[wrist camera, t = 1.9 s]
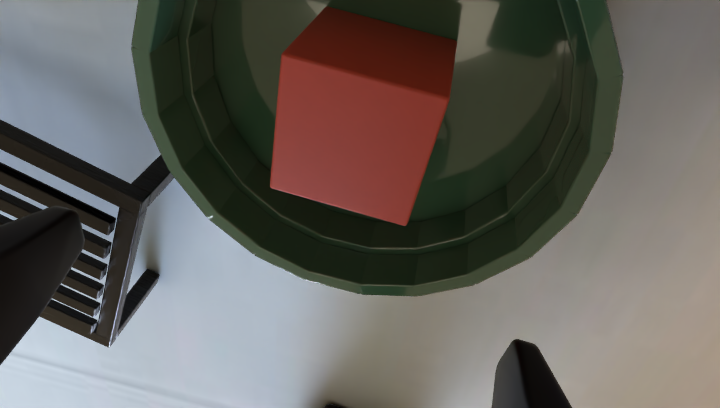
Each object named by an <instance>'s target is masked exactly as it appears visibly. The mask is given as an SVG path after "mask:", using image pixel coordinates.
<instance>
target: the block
mask: <svg viewBox="0 0 720 408" xmlns="http://www.w3.org/2000/svg"><path fill="white" fill-rule="evenodd" d="M456 48H457V41H455V40H452V39H448V38H445V37H441V36H437V35H433V34H429V33H426V32H422V31H418V30H414V29H411V28H407V27H403V26H399V25H396V24H392V23H388V22H384V21H380V20H377V19H373V18H369V17H365V16H362V15H358V14H354V13H350V12H347V11H343V10H339V9H335V8H332V7H325V8H324V9H323V10H322V11H321V12H320V13H319V14H318V15H317V17H316V18H315V19H314V20H313V21H312V22H311V23H310V24H309V25H308V26H307V27H306V28H305V29H304V30H303V31H302V33H301V34H300V35H299V36H298V37H297V38H296V39H295V40H294V41H293V42H292V43H291V44H290V45H289V46H288V47H287V48H286V50H285V51H284V52H283V53H282V55H281V64H280V76H279V87H278V98H277V110H276V121H275V133H274V144H273V155H272V167H271V178H270V187H271V188H272V189H276V190H279V191H283V192H286V193H290V194H293V195H297V196H300V197H304V198H308V199H311V200H315V201H318V202H322V203H325V204H329V205H332V206H336V207H339V208H343V209H346V210H350V211H353V212H357V213H360V214H364V215H367V216H371V217H374V218H378V219H382V220H385V221H389V222H392V223H396V224H399V225H403V226H406V225H407V224H408V221H409V218H410V215H411V212H412V209H413V206H414V203H415V200H416V197H417V194H418V191H419V188H420V185H421V182H422V180H423V177H424V174H425V171H426V168H427V165H428V162H429V159H430V156H431V153H432V150H433V147H434V144H435V141H436V138H437V135H438V132H439V129H440V126H441V124H442V121H443V118H444V115H445V112H446V109H447V106H448V103H449V99H450V92H451V85H452V77H453V70H454V63H455V55H456Z"/></svg>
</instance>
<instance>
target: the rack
mask: <svg viewBox="0 0 720 408" xmlns="http://www.w3.org/2000/svg"><path fill="white" fill-rule="evenodd" d="M0 149H1V150H3V151H5V152H7V153H9V154H11V155H14V156H16V157H18V158H20V159H22V160H24V161H26V162H28V163H30V164H32V165H34V166H36V167H38V168H40V169H42V170H44V171H46V172H48V173H51V174H53V175H55V176H57V177H59V178H61V179H63V180H65V181H67V182H69V183H71V184H73V185H75V186H77V187H79V188H81V189H83V190H85V191H88V192H90V193H92V194H94V195H96V196H98V197H100V198H102V199H104V200H106V201H108V202H110V203H112V204H114V205H116V206H118V207H119V212H118V217H117V222H116V228H115V233H114V239H113V244H112V250H111V255H110V261H109V266H108V272H107V277H106V282H105V288H104V293H103V287H104V285H103V284H101V283H99V282H97V281H95V280H93V279H90V278H88V277H86V276H84V275H82V274H80V273H77V272H75V271H73V270H71V269H70V270H69V272H68V273H67V275H66V276H65V278H64V280H63V281H62V284H64V285H67V286H69V287H71V288H73V289H75V290H77V291H80V292H82V293H84V294H86V295H88V296H91V297H93V298H95V299H98V298H99V297H100V296H101V295H102V293H103V299H102V304H101V310H100V303H99V302H97V301H95V300H92V299H90V298H88V297H86V296H84V295H82V294H79V293H77V292H75V291H73V290H71V289H68V288H66V287H64V286H62V285H60V286H59V287H58V289H57V290H56V292H55V294H54V295H53V297H52V298H53V299H55V300H57V301H59V302H62V303H64V304H66V305H68V306H70V307H73V308H75V309H77V310H79V311H81V312H84V313H86V314H88V315H90V316H92V317H95V316H96V315H97V313H98V312H99V310H100V315H99V321H98V322H97V320H96V319H94V318H92V317H89V316H87V315H85V314H83V313H81V312H78V311H76V310H74V309H72V308H70V307H67V306H65V305H63V304H61V303H59V302H56V301H54V300H52V299H51V300H50V301H49V303H48V304H47V306H46V307H45V309H44V310H43V312H42V313H41V314H40V317H42V318H44V319H46V320H49V321H51V322H53V323H55V324H58V325H60V326H62V327H64V328H66V329H69V330H71V331H73V332H75V333H78V334H80V335H82V336H84V337H87V338H89V339H91V340H93V341H95V342H98V343H100V344H102V345H104V346H107V347H110V346H111V345H112V344H113V342H114V341H115V339H116V337H117V336H118V335H119V334H120V332H121V331H122V330H123V328H124V327H125V326H126V324H127V323H128V322H129V320H130V319H131V318H132V316H133V315H134V313H135V312H136V311H137V309H138V308H139V307H140V305H141V304H142V303H143V301H144V300H145V299H146V297H147V296H148V294H149V293H150V292H151V290H152V289H153V288H154V286H155V285H156V284H157V282H158V279H159V274H157V273H155V272H153V271H151V270H149V269H147V270H146V271H145V272H144V273H143V274H142V276H141V277H140V278H139V279H138V281H137V282H136V283H135V285H134V286H133V287H132V288H131V290H130V291H129V292H128V294H127V290H128V286H129V282H130V277H131V273H132V269H133V265H134V261H135V256H136V252H137V248H138V244H139V240H140V235H141V231H142V227H143V223H144V219H145V214H146V210H147V207H148V206H149V205H150V204H151V203H152V202H153V201H154V199H155V198H156V197H157V196H158V195H159V194H160V193H161V192H162V191H163V190H164V188H165V187H166V186H167V185H168V184H169V183H170V182H171V181H172V180H173V179H174V177H173V175H172V174H171V173H170V171H169V170H168V168H167V166H166V164H165V161H164V159H163V157H162V155H160V156H159V157H158V158H157V159H156V160H155V161H154V162H153V163H152V164H151V165H150V166H149V167H148V168H147V169H146V170H145V171H144V172H143V173H142V174H141V175H140V176H139V177H138V178H137V179H136V180H134V181H133V182H132V183H131V184H130V183H128V182H126V181H124V180H122V179H120V178H118V177H116V176H114V175H112V174H110V173H107V172H105V171H103V170H101V169H99V168H97V167H95V166H93V165H91V164H89V163H87V162H85V161H83V160H81V159H79V158H77V157H75V156H73V155H71V154H69V153H67V152H65V151H63V150H61V149H59V148H57V147H55V146H53V145H51V144H49V143H47V142H45V141H43V140H41V139H39V138H37V137H35V136H33V135H31V134H29V133H27V132H25V131H23V130H21V129H18V128H16V127H14V126H12V125H10V124H8V123H6V122H4V121H2V120H0ZM0 184H1V185H3V186H5V187H7V188H10V189H12V190H14V191H16V192H18V193H20V194H22V195H24V196H26V197H28V198H31V199H33V200H35V201H37V202H39V203H41V204H43V205H45V206H47V207H52V206H61V207H65V208H68V209H72V210H74V211H76V212H77V213H78V215H79V218H80V222H81V223H83V224H85V225H87V226H89V227H91V228H93V229H95V230H97V231H100V232H102V233H104V234H106V235H109V234H110V233H111V232H112V231H113V230H114V227H115V221H116V218H115V217H113V216H111V215H108V214H106V213H104V212H102V211H100V210H98V209H96V208H94V207H92V206H90V205H88V204H86V203H84V202H82V201H80V200H77V199H75V198H73V197H71V196H69V195H67V194H65V193H63V192H61V191H59V190H57V189H55V188H53V187H51V186H48V185H46V184H44V183H42V182H40V181H38V180H36V179H34V178H32V177H30V176H28V175H26V174H24V173H22V172H20V171H17V170H15V169H13V168H11V167H9V166H7V165H5V164H3V163H1V162H0ZM0 210H1V211H3V212H5V213H8V214H10V215H12V216H14V217H16V218H18V219H19V218H22V217H25V216H27V215H30V214H33V213H35V212H38V211H41V210H42V209H40V208H38V207H36V206H34V205H32V204H30V203H28V202H25V201H23V200H21V199H19V198H17V197H15V196H13V195H11V194H9V193H7V192H4V191H2V190H0ZM11 221H14V220H12V219H9V218H7V217H5V216H3V215H1V214H0V225H3V224H6V223H8V222H11ZM82 230H83V234H84V239H85V242H84V247H83V249H84V250H86V251H88V252H90V253H93V254H95V255H97V256H99V257H101V258H103V259H104V258H106V256H107V255H108V254H109V253H110V249H111V242H109V241H107V240H105V239H103V238H101V237H99V236H97V235H95V234H93V233H91V232H88V231H86V230H84V229H82ZM72 267H73V268H75V269H77V270H80V271H82V272H84V273H86V274H88V275H90V276H93V277H95V278H97V279H99V280H101V279H102V278H103V277H104V276H105V275H106V271H107V264H105V263H103V262H101V261H99V260H97V259H95V258H92V257H90V256H88V255H86V254H84V253H82V252H81V253H80V255H79V256H78V258H77V259H76V261H75V262H74V264H73V266H72ZM126 294H127V295H126Z"/></svg>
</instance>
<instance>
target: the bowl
mask: <svg viewBox="0 0 720 408" xmlns="http://www.w3.org/2000/svg"><path fill="white" fill-rule="evenodd" d="M325 7H332V8H335V9H339V10H343V11H347V12H350V13H354V14H358V15H362V16H365V17H369V18H373V19H377V20H380V21H384V22H388V23H392V24H396V25H399V26H403V27H407V28H411V29H414V30H418V31H422V32H426V33H429V34H433V35H437V36H441V37H445V38H448V39H452V40H455V41H457V48H456V55H455V63H454V70H453V77H452V85H451V92H450V99H449V103H448V106H447V109H446V112H445V115H444V118H443V121H442V124H441V126H440V129H439V132H438V135H437V138H436V141H435V144H434V147H433V150H432V153H431V156H430V159H429V162H428V165H427V168H426V171H425V174H424V177H423V180H422V182H421V185H420V188H419V191H418V194H417V197H416V200H415V203H414V206H413V209H412V212H411V215H410V218H409V221H408V224H407V225H406V226H403V225H399V224H396V223H392V222H389V221H385V220H382V219H378V218H374V217H371V216H367V215H364V214H360V213H357V212H353V211H350V210H346V209H343V208H339V207H336V206H332V205H329V204H325V203H322V202H318V201H315V200H311V199H308V198H304V197H300V196H297V195H293V194H290V193H286V192H283V191H279V190H276V189H272V188H271V187H270V178H271V167H272V155H273V144H274V133H275V121H276V110H277V98H278V87H279V76H280V64H281V55H282V53H283V52H284V51H285V50H286V48H287V47H288V46H289V45H290V44H291V43H292V42H293V41H294V40H295V39H296V38H297V37H298V36H299V35H300V34H301V33H302V31H303V30H304V29H305V28H306V27H307V26H308V25H309V24H310V23H311V22H312V21H313V20H314V19H315V18H316V17H317V15H318V14H319V13H320V12H321V11H322V10H323V9H324V8H325ZM131 45H132V47H131V50H132V56H133V62H134V68H135V74H136V80H137V86H138V92H139V98H140V104H141V110H142V113H143V117H144V119H145V121H146V123H147V125H148V127H149V130H150V132H151V134H152V136H153V138H154V140H155V142H156V144H157V147H158V149H159V151H160V153H161V155H162V157H163V159H164V161H165V164H166V166H167V168H168V170H169V171H170V173H171V174H172V175H173V177H174V178H175V179H176V180H177V181H178V183H179V184H180V185H181V186H182V188H183V189H184V190H185V191H186V193H187V194H188V195H189V196H190V197H191V199H192V200H193V201H194V202H195V204H196V205H197V206H198V207H199V209H200V210H201V211H202V212H203V213H204V215H205V216H206V217H207V218H209V220H210V221H212V222H213V223H214V224H215V225H217V226H218V227H219V228H220V229H222V230H223V231H224V232H226V233H227V234H228V235H229V236H231V237H232V238H233V239H234V240H236V241H237V242H238V243H240V244H241V245H242V246H243V247H245V248H246V249H247V250H248V251H250V252H251V253H252V254H255V256H257V257H259V258H261V259H263V260H265V261H267V262H269V263H271V264H273V265H275V266H277V267H279V268H281V269H283V270H285V271H287V272H289V273H291V274H293V275H295V276H297V277H299V278H301V279H303V280H307V281H310V282H314V283H318V284H322V285H326V286H330V287H334V288H338V289H342V290H346V291H350V292H354V293H357V294H362V295H389V296H423V295H428V294H433V293H438V292H443V291H448V290H453V289H458V288H463V287H468V286H473V285H475V284H478V283H480V282H482V281H484V280H486V279H488V278H490V277H493V276H495V275H497V274H499V273H501V272H503V271H505V270H507V269H509V268H511V267H513V266H515V265H517V264H519V263H521V262H523V261H525V260H528V259H529V258H531V257H532V256H533V255H534V254H535V253H537V252H538V251H539V250H540V249H541V248H542V247H543V246H544V245H545V244H546V243H547V242H549V241H550V240H551V239H552V238H553V237H554V236H555V235H556V234H557V233H558V232H559V231H561V230H562V229H563V228H564V227H565V226H566V225H567V224H568V223H569V222H570V221H572V220H573V219H574V218H575V217H576V216H577V214H578V213H579V211H580V210H581V208H582V206H583V204H584V202H585V201H586V199H587V197H588V195H589V193H590V191H591V190H592V188H593V186H594V184H595V182H596V181H597V179H598V177H599V175H600V173H601V172H602V170H603V168H604V166H605V164H606V162H607V161H608V159H609V157H610V155H611V152H612V150H613V144H614V137H615V130H616V124H617V117H618V110H619V103H620V97H621V90H622V83H623V69H622V64H621V60H620V56H619V52H618V47H617V43H616V39H615V35H614V30H613V26H612V22H611V18H610V13H609V9H608V5H607V1H606V0H138V6H137V12H136V19H135V25H134V31H133V38H132V44H131Z"/></svg>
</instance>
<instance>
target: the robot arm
mask: <svg viewBox="0 0 720 408" xmlns="http://www.w3.org/2000/svg"><path fill="white" fill-rule="evenodd" d="M84 242H85V239H84V234H83V230H82V226H81V222H80V218H79V215H78V213H77V212H76V211H74V210H72V209H68V208H65V207H61V206H52V207H49V208H46V209H44V210H41V211H38V212H35V213H33V214H30V215H27V216H25V217H22V218H19V219H16V220H14V221H11V222H8V223H6V224H3V225H0V365H1V364H2V362H3V361H4V360H5V359H6V357H7V356H8V355H9V354H10V352H11V351H12V350H13V349H14V347H15V346H16V345H17V344H18V342H19V341H20V340H21V339H22V337H23V336H24V335H25V334H26V332H27V331H28V330H29V329H30V327H31V326H32V325H33V324H34V322H35V321H36V320H37V318H38V317H39V316H40V314H41V313H42V312H43V310H44V309H45V307H46V306H47V304H48V303H49V301H50V300H51V298H52V297H53V295H54V294H55V292H56V290H57V289H58V287H59V286H60V284H61V283H62V281H63V280H64V278H65V276H66V275H67V273H68V272H69V270H70V269H71V267H72V266H73V264H74V262H75V261H76V259H77V258H78V256H79V255H80V253H81V251H82V249H83V247H84ZM324 408H340V407H338V406H335V405H332V404H327V405H326V406H325V407H324ZM492 408H572V407H571V405H570V403H569V401H568V400H567V398H566V396H565V394H564V393H563V391H562V389H561V387H560V386H559V384H558V382H557V380H556V378H555V377H554V375H553V373H552V371H551V370H550V368H549V366H548V364H547V362H546V361H545V359H544V357H543V355H542V354H541V352H540V350H539V348H538V347H537V346H536V345H535V344H533V343H530V342H526V341H523V340H519V339H515V340H513V341H512V342H511V344H510V345H509V347H508V348H507V350H506V351H505V353H504V354H503V356H502V357H501V359H500V360H499V362H498V365H497V368H496V373H495V383H494V392H493V401H492Z"/></svg>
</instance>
